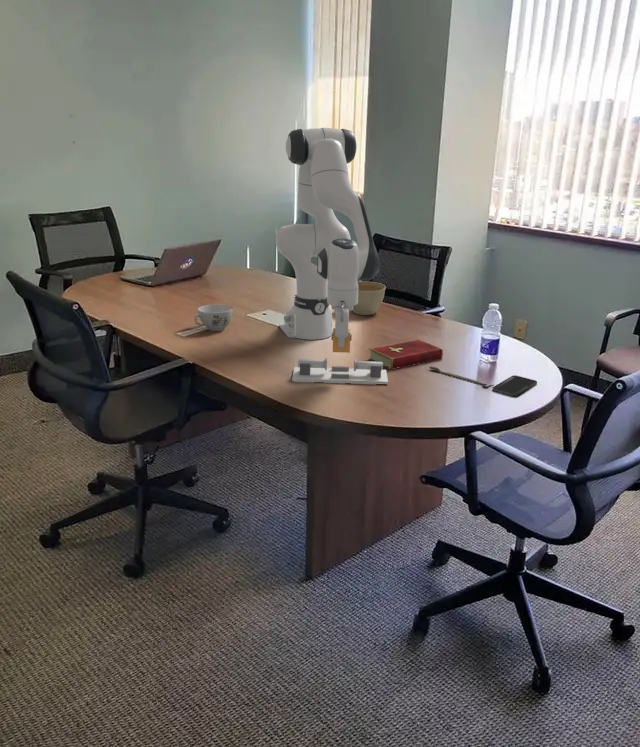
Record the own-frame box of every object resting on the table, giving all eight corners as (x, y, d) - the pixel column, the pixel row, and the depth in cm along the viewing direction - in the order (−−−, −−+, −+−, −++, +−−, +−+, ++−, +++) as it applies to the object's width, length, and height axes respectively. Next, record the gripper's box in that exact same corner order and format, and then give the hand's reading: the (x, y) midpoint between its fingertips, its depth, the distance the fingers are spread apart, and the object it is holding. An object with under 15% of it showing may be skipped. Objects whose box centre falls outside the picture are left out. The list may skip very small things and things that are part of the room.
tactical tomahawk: (497, 386, 198) (498, 382, 197) (486, 390, 193) (487, 386, 192) (439, 367, 211) (439, 364, 211) (427, 370, 206) (427, 367, 206)
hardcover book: (442, 360, 217) (443, 348, 215) (391, 371, 206) (392, 358, 205) (418, 349, 226) (419, 338, 225) (368, 359, 216) (369, 347, 214)
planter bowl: (335, 311, 269) (336, 284, 265) (364, 305, 279) (365, 279, 275) (364, 320, 258) (365, 292, 254) (392, 313, 268) (394, 286, 264)
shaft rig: (292, 381, 195) (292, 363, 193) (294, 370, 204) (294, 352, 202) (387, 384, 194) (389, 366, 192) (386, 372, 203) (387, 354, 201)
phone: (491, 388, 191) (513, 374, 202) (490, 391, 192) (513, 378, 202) (516, 395, 186) (538, 381, 197) (516, 399, 187) (538, 384, 198)
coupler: (331, 352, 194) (331, 332, 192) (331, 347, 198) (331, 328, 196) (351, 352, 194) (351, 332, 192) (351, 348, 198) (351, 329, 196)
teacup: (222, 322, 251) (221, 301, 248) (240, 330, 242) (239, 308, 239) (186, 329, 242) (185, 307, 239) (203, 337, 233) (202, 315, 230)
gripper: (354, 306, 181) (352, 354, 185) (353, 289, 200) (351, 333, 204) (330, 305, 181) (329, 354, 185) (332, 289, 200) (331, 333, 205)
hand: (341, 343), depth 195 cm, fingers closed on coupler, 4 cm apart
